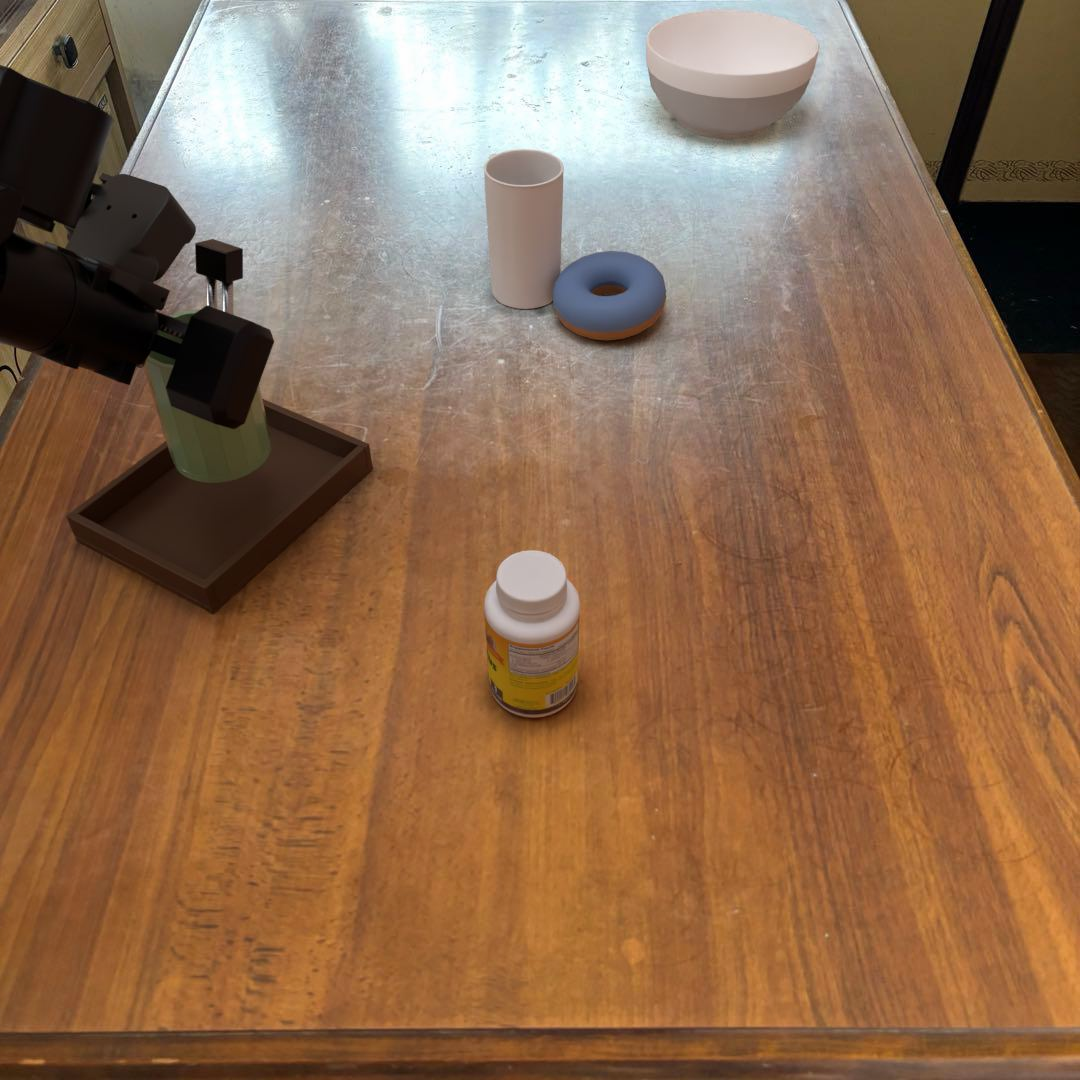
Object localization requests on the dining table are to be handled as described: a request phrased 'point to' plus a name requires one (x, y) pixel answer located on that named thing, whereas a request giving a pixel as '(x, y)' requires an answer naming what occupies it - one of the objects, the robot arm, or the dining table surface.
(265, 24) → the dining table surface
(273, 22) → the dining table surface
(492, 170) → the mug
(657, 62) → the bowl
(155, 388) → the cup
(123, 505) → the tray
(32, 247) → the robot arm
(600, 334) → the doughnut
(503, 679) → the supplement bottle
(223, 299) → the black component with leads
